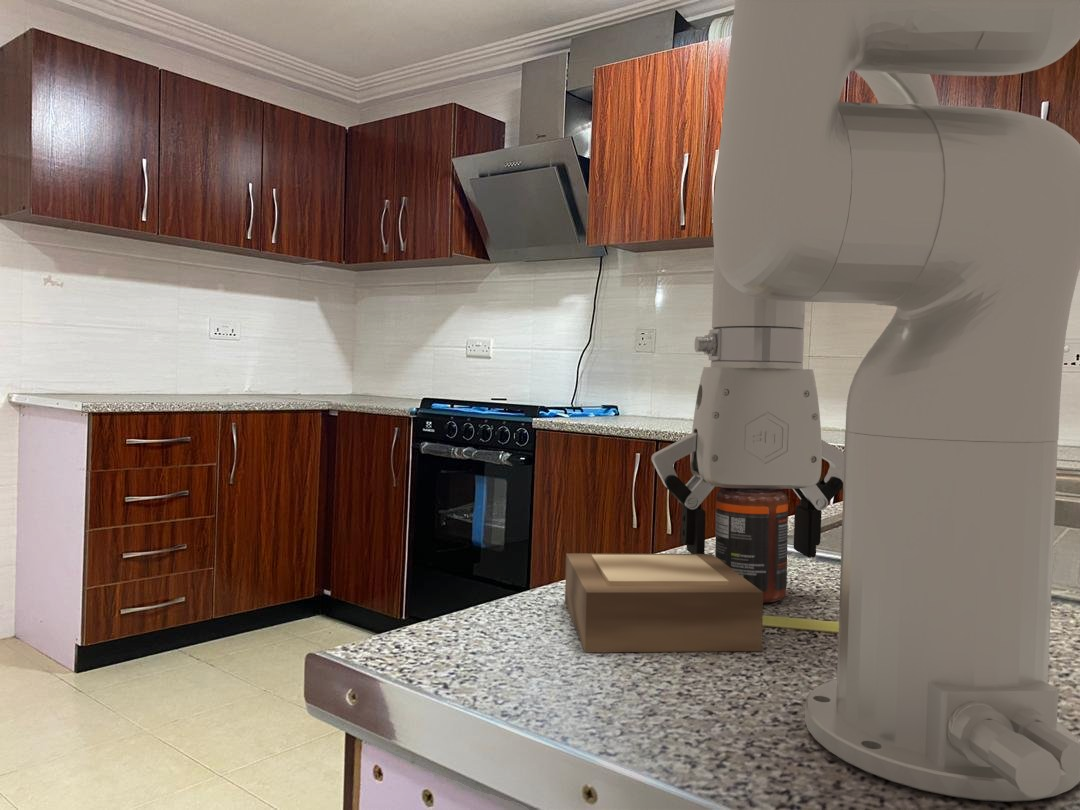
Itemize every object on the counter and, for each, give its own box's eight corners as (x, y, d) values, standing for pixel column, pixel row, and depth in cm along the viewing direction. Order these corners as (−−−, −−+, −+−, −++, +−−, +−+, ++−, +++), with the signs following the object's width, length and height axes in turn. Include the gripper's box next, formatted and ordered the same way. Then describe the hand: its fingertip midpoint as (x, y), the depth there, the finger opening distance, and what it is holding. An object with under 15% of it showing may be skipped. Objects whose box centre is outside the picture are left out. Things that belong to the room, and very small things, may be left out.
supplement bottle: (779, 588, 72) (782, 460, 72) (793, 607, 66) (797, 468, 66) (710, 585, 73) (713, 458, 72) (718, 604, 67) (721, 465, 67)
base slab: (761, 651, 55) (763, 587, 55) (585, 652, 54) (586, 588, 54) (710, 602, 67) (711, 550, 67) (564, 602, 66) (566, 549, 66)
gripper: (665, 348, 64) (659, 564, 65) (877, 353, 66) (869, 564, 67) (645, 350, 72) (640, 544, 73) (836, 354, 73) (829, 544, 74)
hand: (750, 553), depth 70 cm, fingers open, 9 cm apart
